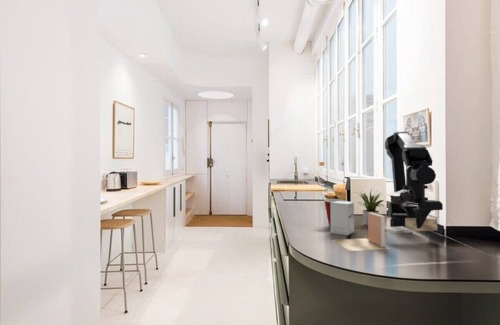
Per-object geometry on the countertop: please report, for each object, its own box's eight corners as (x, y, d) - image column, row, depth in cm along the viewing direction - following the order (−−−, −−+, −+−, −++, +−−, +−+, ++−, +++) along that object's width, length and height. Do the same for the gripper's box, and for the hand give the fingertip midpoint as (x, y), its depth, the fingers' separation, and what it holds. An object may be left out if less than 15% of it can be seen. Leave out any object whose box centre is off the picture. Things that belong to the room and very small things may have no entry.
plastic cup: (348, 230, 128) (348, 201, 128) (322, 228, 132) (322, 200, 132) (349, 225, 138) (349, 198, 138) (324, 223, 142) (324, 197, 142)
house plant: (352, 226, 134) (351, 189, 134) (351, 220, 148) (350, 187, 148) (387, 228, 130) (386, 190, 130) (383, 222, 144) (382, 187, 144)
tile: (372, 240, 108) (371, 212, 108) (384, 246, 100) (384, 216, 100) (367, 240, 108) (367, 212, 108) (380, 246, 100) (380, 216, 100)
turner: (428, 227, 110) (428, 216, 110) (440, 231, 104) (440, 219, 104) (384, 229, 108) (384, 218, 108) (394, 233, 102) (394, 221, 102)
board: (368, 239, 111) (368, 238, 111) (390, 250, 98) (390, 249, 98) (331, 241, 110) (331, 239, 110) (349, 252, 96) (349, 250, 96)
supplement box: (348, 236, 116) (348, 203, 117) (330, 234, 121) (329, 202, 121) (354, 233, 122) (354, 201, 122) (337, 230, 127) (336, 200, 127)
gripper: (379, 181, 114) (379, 222, 114) (411, 184, 96) (412, 234, 96) (406, 180, 116) (406, 221, 116) (443, 184, 97) (444, 232, 97)
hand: (415, 227), depth 106 cm, fingers closed on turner, 3 cm apart
